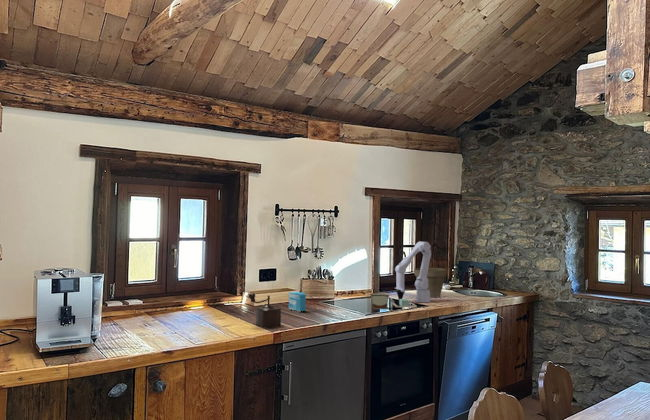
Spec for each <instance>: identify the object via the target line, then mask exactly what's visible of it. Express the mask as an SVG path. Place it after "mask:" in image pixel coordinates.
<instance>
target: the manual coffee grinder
mask: <svg viewBox="0 0 650 420" xmlns="http://www.w3.org/2000/svg"><path fill="white" fill-rule="evenodd" d="M248 298H249V299H250V302H251V303H254V304H260V303H264V302H267V303H264V305H263V306H261V307H256V310H255V311H256V312H255V313H256V315H255V318H256V320H255V325H256V324H257V325H256V326H258V325H259V326H258V327H260V326H262V327H261V328H264V327H268V328H273V327H272V326H275V327H279V325H281V323H282V321H281V317H282V316H281V315H282V314H281V313H282V310H281V308H278V307H275V306H274V305H272V304H270V299H271V298H270V295H269V294H268V295H267V298H266V299H263V300H260V301H259V300H258V301H256V293H254V292H252V293H249V294H248ZM281 326H282V325H281Z"/></svg>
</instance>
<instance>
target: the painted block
mask: <svg viewBox="0 0 650 420" xmlns="http://www.w3.org/2000/svg"><path fill="white" fill-rule="evenodd" d="M398 302H399V303H398V304H399V306H410V301H409V299H407V298H403V299H398Z"/></svg>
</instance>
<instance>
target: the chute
mask: <svg viewBox="0 0 650 420" xmlns="http://www.w3.org/2000/svg"><path fill="white" fill-rule="evenodd" d="M390 302H391V304H392V306H394V307H395V308H418V307H417V305H416V304H414V303H413V302H410V301H409V306H401V305H397V304H396V303H395V300H393V299H392V298H390ZM411 304H412V305H411Z"/></svg>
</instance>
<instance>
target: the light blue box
mask: <svg viewBox="0 0 650 420" xmlns="http://www.w3.org/2000/svg"><path fill="white" fill-rule="evenodd" d="M306 295H307V294H306V293H305V292H301V291H300V292H299V291H289V293H288V310H289V309H292V310H296V311H305V312H306V308H307V307H306V306H307V305H306V304H307V303H306V302H307V301H306V298H307V297H306Z"/></svg>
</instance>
